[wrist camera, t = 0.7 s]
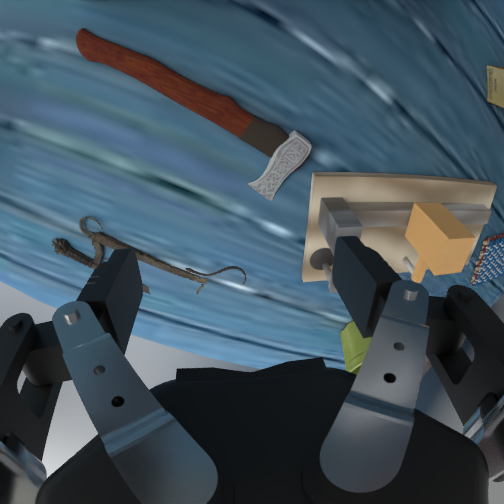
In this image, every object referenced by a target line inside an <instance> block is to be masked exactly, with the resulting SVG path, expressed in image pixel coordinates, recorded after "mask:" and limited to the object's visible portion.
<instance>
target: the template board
mask: <svg viewBox="0 0 504 504" xmlns="http://www.w3.org/2000/svg"><path fill="white" fill-rule="evenodd" d="M496 188H497V186H496V185H495V184H494V183H492V182H487V181H478V180H469V179H459V178H448V177H437V176H423V175H407V174H388V173H359V172H312V183H311V194H310V204H309V214H308V224H307V234H306V243H305V251H304V260H303V268H302V279H303V282H310V281H322V280H328V282H329V285H328V288H329V291H330V293H338V291H337V290H336V288H335V286H334V284H333V279H332V268H333V260H334V252H335V243H336V239H337V237H339V236H357V237H358V238H359V239H360V241H361V242H362V243H363V244H364V245H365V246H366V247H370V248H371V249H373V250H375V251H377V252H378V253H379V254H380V255H381V256H382V257H383V258H384V260H385V261H386V262H387V263H388V264H389V266H391V267H392V269H393V270H394V271H395V272H396V273H403V272H410V271H409V270H408V268H407V267H406V265H405V264H404V262H403V261H402V259H403V258H404V257H408V259H409V260H410V262H411V263H412V265H413V266H414V267H415V266H416V263H417V261H418V258H419V254H418V253H417V251H416V250H415V249H414V247H413V246H412V245H411V243H410V242H409V241H408V240H407V238H406V237H405V233H406V230H407V227H408V223H409V220H410V216H411V212H412V208H413V205H414V202H418V203H441V204H442V205H443V206H444V207H445V208H447V209H448V210H449V211H450V212H451V213H452V214H453V215H454V216H455V217H456V218H457V219H458V220H459V221H460V222H461V223H462V224H463V225H464V226H465V227H466V228H467V229H468V230H469V231H470V232H471V233H472V234H473V235H474V236H475V237H476V238H475V241H474V243H473V246H472V248H471V251H470V253H469V255H468V258H467V260H466V262H465V264H464V265H467V264H468V262H469V260H470V258H471V255H472V253H473V251H474V248H475V246H476V244H477V241H478V239H479V236H480V234H481V231H482V229H483V226H484V224H487V223H488V220H489V217H490V215H491V212H492V211H491V210H489V209H490V207H491V204H492V201H493V198H494V194H495V191H496ZM426 270H429V267H428V266H427V269H426Z"/></svg>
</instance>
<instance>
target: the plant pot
mask: <svg viewBox="0 0 504 504" xmlns="http://www.w3.org/2000/svg"><path fill="white" fill-rule="evenodd" d="M340 336H341V342H342V347H343V353H344V359H345V366H346V369H345V370H346V371H349V372H351V373H354V374H356V375H357V374H358V372H359V370H360V367H361V365H362V362H363V360H364V358H365V355H366V353H367V350H368V348H369V345H370V342H371V340H372V337H369V338H363V337H362V335H361V333H360V332H359V330H358V328H357V326H356V324H355V322H354V321H352V322H350V323H349V324H347V326H346V327H345V329H344V330H342V331H341V335H340Z"/></svg>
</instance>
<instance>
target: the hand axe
mask: <svg viewBox="0 0 504 504" xmlns="http://www.w3.org/2000/svg"><path fill="white" fill-rule="evenodd" d="M76 43H77V47H78V49H79V51H80V53H81V54H82V55H83V56H84V57H85V58H86V59H87V60H88V61H93V62H99V63H103V64H106V65H108V66H110V67H113V68H115V69H117V70H119V71H121V72H124V73H126V74H128V75H130V76H132V77H134V78H136V79H137V80H139V81H141V82H143V83H145V84H146V85H148V86H150V87H152V88H153V89H155V90H157V91H158V92H160V93H162V94H163V95H165V96H167V97H169V98H170V99H172V100H174V101H175V102H177V103H179V104H181V105H183V106H184V107H186V108H188V109H190V110H192V111H194V112H195V113H197V114H199V115H201V116H203V117H205V118H207V119H208V120H210V121H212V122H214V123H216V124H217V125H219V126H221V127H222V128H224V129H226V130H228V131H229V132H231V133H233V134H234V135H236V136H237V137H239V138H240V139H241V140H243V141H244V142H246V143H248V144H249V145H251V146H253V147H254V148H256V149H258V150H259V151H261V152H263V153H264V154H266V155H267V156H269V157H271V158H270V161H269V164H268V166H267V168H266V170H265V172H264V173H263V175H262V176H261V177H260V178H259V179H258V180H256V181H254V182H252V183H248V185H249V186H251V187H252V188H253V189H255V190H256V191H257V192H259V193H260V194H261V195H263V196H264V197H266V198H267V199H268V200H271V201H272V200H273V197H274V195H275V193H276V191H277V190H278V188H279V187H280V185H281V184H282V182H283V181H284V180H285V179H286V177H287V176H288V175H289V174H290V173H291V172H292V171H293V170H294V171H296V170H297V169H298V168H299V167H300V166H301V165H302V164H303V163H304V162H305V160H306V159H307V158H308V156H309V155H308V154H309V153H310V150H311V147H312V146H311V144H310V142H309V141H308V140H307V139H306V138H305V137H303V136H302V135H301V134H300V133H298V132H297V131H296V130H294V131H293V132H292V133H290V134H289V135H287V134H286V133H285V132H284V131H283V130H282V129H281V128H280V127H278V126H277V125H274V124H271V123H268V122H265V121H263V120H261V119H259V118H257V117H255V116H253V115H251V114H249V113H248V112H246V111H245V110H243V109H242V108H240V107H239V106H238V105H237V104H236V103H235V102H234V101H233V100H232V99H231V98H230V97H229V96H224V95H220V94H218V93H215V92H213V91H210V90H208V89H206V88H204V87H202V86H200V85H198V84H196V83H194V82H192V81H190V80H188V79H186V78H184V77H182V76H181V75H179V74H177V73H175V72H173V71H172V70H170V69H168V68H167V67H165V66H163V65H162V64H160V63H159V62H157V61H155V60H154V59H152V58H150V57H147V56H145V55H142V54H139V53H136V52H134V51H131V50H129V49H126V48H124V47H121V46H119V45H116V44H114V43H111V42H109V41H106V40H104V39H101V38H99V37H97V36H95V35H93V34H91V33H89V32H88V31H86V30H85V29H84V28H82V29H80V30H79V31H78V33H77V35H76Z"/></svg>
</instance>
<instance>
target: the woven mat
mask: <svg viewBox="0 0 504 504" xmlns="http://www.w3.org/2000/svg"><path fill="white" fill-rule="evenodd" d="M494 240H495V241H494ZM483 244H484V246H482V249H483V248H484V250H482V251H481V252H480V255H481V256H479V259H481V260H480V261H477V262H476V265H477V264H479V265H477V266H476V268H475V270H476V271H474V273H476V274H475V275H473V276H472V279H473V280H471V282H473V284H472V285H473V286H474V285H475V286H476V285H477V284H478V285H480V283H483V282H484V283H486V281H488V280H489V281H491V279H493V278H494V279H496V277H498V276H500V277H501V276H502V275H503V274H504V233H503V234H502V235H498V236H495V237H491V238H486V239H485V240H484V242H483ZM482 275H483V276H482ZM477 276H478V277H477Z"/></svg>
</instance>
